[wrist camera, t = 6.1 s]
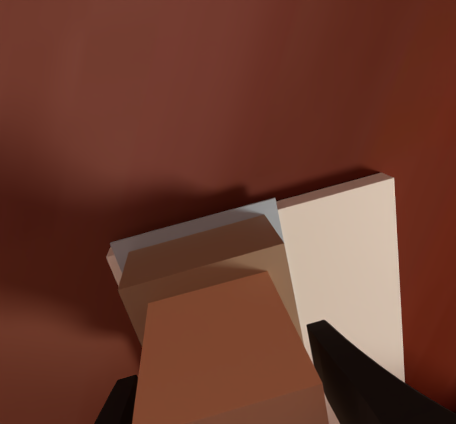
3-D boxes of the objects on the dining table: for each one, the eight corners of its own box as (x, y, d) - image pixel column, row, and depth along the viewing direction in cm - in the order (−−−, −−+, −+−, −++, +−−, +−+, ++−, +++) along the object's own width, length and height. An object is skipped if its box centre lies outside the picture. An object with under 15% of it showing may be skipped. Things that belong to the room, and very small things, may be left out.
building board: (380, 160, 16) (443, 183, 12) (396, 396, 21) (442, 461, 18) (105, 235, 15) (82, 283, 11) (197, 457, 21) (201, 538, 17)
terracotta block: (267, 270, 12) (322, 383, 8) (286, 361, 14) (340, 499, 9) (148, 303, 12) (130, 439, 7) (181, 391, 14) (183, 549, 9)
